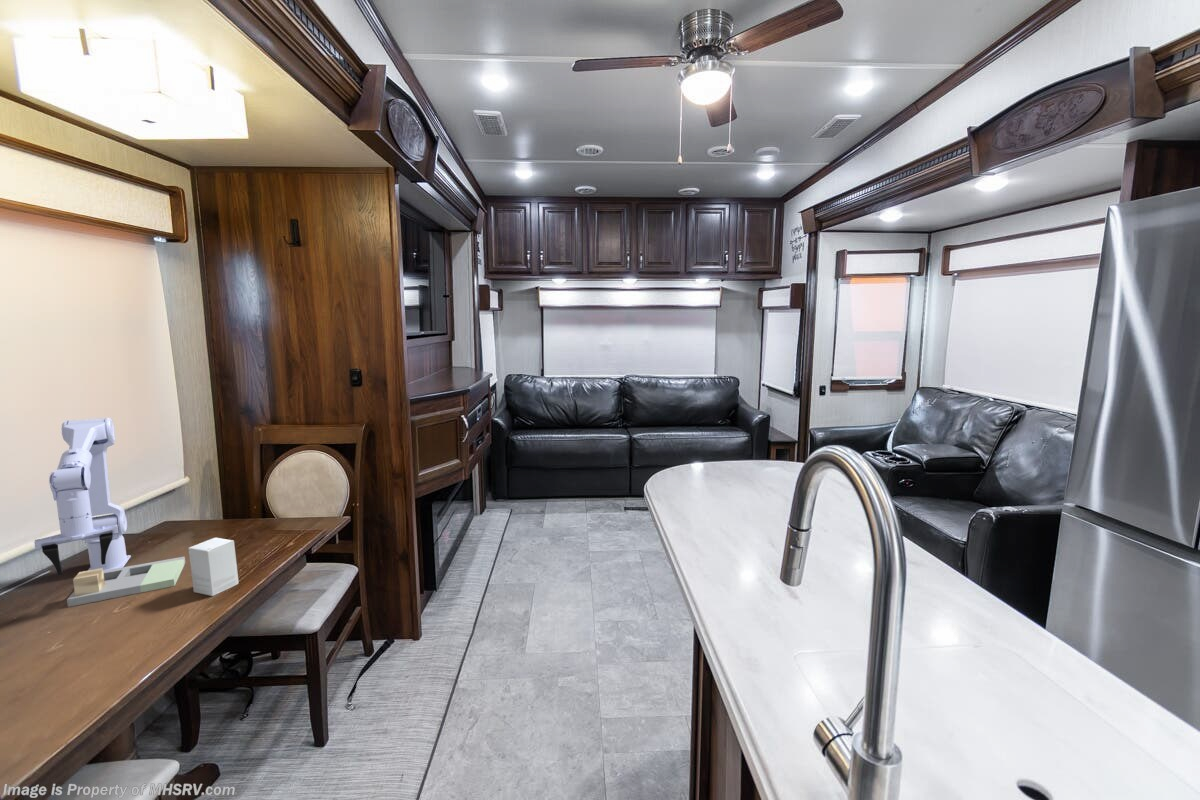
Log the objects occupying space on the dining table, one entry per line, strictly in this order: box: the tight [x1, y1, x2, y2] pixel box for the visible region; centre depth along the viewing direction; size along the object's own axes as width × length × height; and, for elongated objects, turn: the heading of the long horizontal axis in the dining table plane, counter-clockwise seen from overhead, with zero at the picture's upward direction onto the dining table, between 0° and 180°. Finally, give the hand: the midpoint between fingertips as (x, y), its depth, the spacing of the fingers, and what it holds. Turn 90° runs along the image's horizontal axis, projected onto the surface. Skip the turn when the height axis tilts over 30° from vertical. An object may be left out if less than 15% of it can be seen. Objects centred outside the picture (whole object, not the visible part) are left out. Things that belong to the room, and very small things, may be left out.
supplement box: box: [188, 537, 239, 597], centre depth 138 cm, size 7×7×13 cm
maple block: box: [72, 568, 105, 596], centre depth 133 cm, size 4×4×4 cm
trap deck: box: [66, 556, 186, 608], centre depth 141 cm, size 16×21×2 cm
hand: (82, 568), depth 129 cm, fingers open, 7 cm apart
